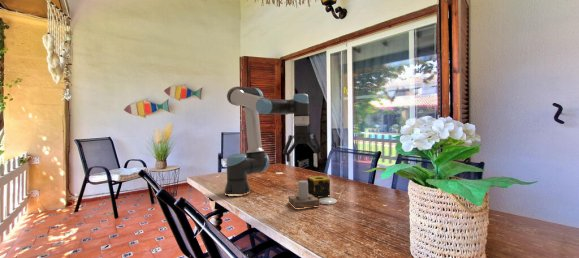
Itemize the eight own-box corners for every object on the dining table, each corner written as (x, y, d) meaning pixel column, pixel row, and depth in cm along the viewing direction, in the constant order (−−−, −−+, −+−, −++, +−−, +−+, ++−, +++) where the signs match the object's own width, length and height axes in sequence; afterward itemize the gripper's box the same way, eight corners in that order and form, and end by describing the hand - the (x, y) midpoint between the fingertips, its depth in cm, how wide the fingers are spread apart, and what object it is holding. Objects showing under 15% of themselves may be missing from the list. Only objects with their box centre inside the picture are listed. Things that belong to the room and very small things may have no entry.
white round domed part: (314, 200, 143) (314, 199, 143) (331, 198, 146) (331, 197, 146) (322, 206, 134) (322, 204, 134) (340, 203, 137) (340, 202, 137)
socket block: (288, 202, 140) (288, 196, 140) (310, 200, 144) (310, 193, 143) (296, 210, 129) (296, 202, 128) (319, 207, 132) (319, 199, 132)
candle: (306, 194, 157) (306, 176, 156) (322, 192, 160) (322, 175, 159) (313, 198, 147) (313, 180, 147) (330, 196, 150) (330, 178, 150)
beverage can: (302, 202, 139) (302, 179, 139) (310, 204, 136) (309, 181, 136) (296, 205, 136) (296, 181, 135) (304, 207, 133) (304, 182, 132)
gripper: (279, 125, 128) (281, 170, 128) (327, 124, 135) (328, 166, 135) (275, 125, 135) (277, 168, 135) (321, 124, 142) (322, 164, 143)
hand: (303, 167), depth 135 cm, fingers open, 13 cm apart
